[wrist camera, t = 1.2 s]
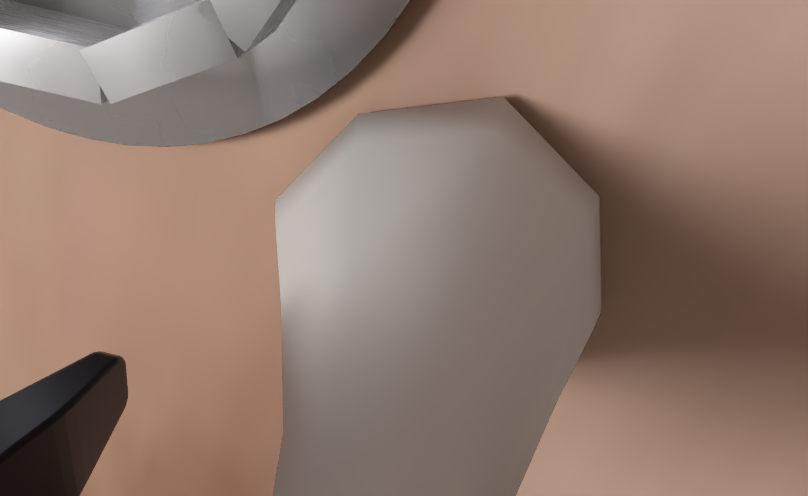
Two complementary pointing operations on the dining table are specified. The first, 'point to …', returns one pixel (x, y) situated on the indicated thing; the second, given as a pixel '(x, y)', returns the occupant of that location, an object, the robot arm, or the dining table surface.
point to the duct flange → (178, 63)
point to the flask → (430, 302)
